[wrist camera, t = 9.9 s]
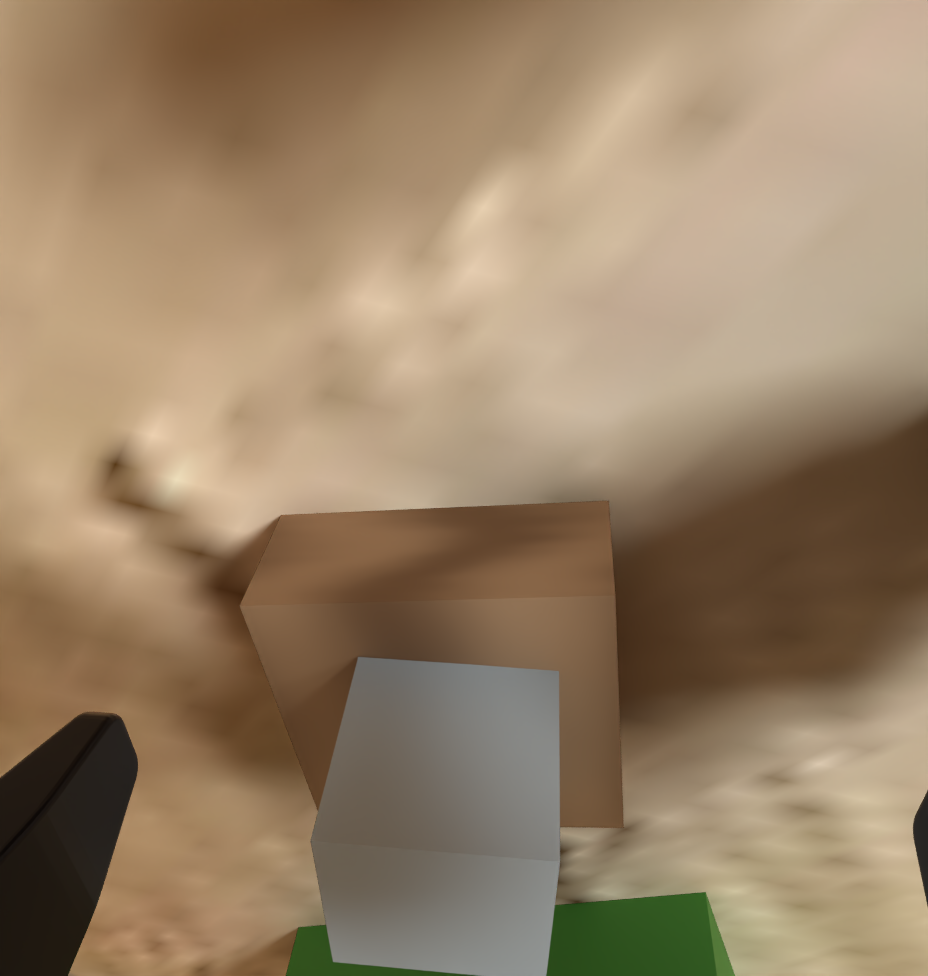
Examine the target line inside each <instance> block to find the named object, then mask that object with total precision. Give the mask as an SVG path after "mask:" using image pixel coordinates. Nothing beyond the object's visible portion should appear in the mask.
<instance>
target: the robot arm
mask: <svg viewBox="0 0 928 976" xmlns="http://www.w3.org/2000/svg"><path fill="white" fill-rule="evenodd" d="M137 771H138V760H137V755H136V753H135V750H134V747H133V745H132V742H131V740H130V737H129V735H128V732H127V730H126V727H125V724H124V722H123V720H122V718H121V717H120V716H118V715H117V714H113V713H101V712H85V713H82V714H80V715H78V716H77V717H75V718H74V719H73V720H71V721H70V722H69V723H68V724H66V725H65V726H64V727H63V728H62V729H60V730H59V731H58V732H57V733H55V734H54V735H53V736H52V737H50V738H49V739H48V740H47V741H45V742H44V743H43V744H42V745H40V746H39V747H38V748H37V749H35V750H34V751H33V752H32V753H30V754H29V755H28V756H27V757H25V758H24V759H23V760H22V761H20V762H19V763H18V764H17V765H16V766H14V767H13V768H12V769H11V770H9V771H8V772H7V773H6V774H4V775H3V776H2V777H1V778H0V976H68V974H69V971H70V969H71V966H72V964H73V962H74V959H75V957H76V955H77V952H78V950H79V947H80V945H81V943H82V940H83V938H84V936H85V933H86V931H87V929H88V926H89V923H90V921H91V918H92V916H93V913H94V911H95V908H96V906H97V903H98V900H99V897H100V894H101V891H102V888H103V885H104V881H105V878H106V875H107V872H108V868H109V865H110V862H111V859H112V855H113V852H114V849H115V846H116V842H117V839H118V836H119V833H120V829H121V826H122V823H123V820H124V816H125V813H126V810H127V807H128V803H129V800H130V797H131V794H132V790H133V787H134V784H135V780H136V777H137ZM913 836H914V842H915V847H916V852H917V857H918V862H919V867H920V872H921V877H922V881H923V886H924V891H925V896H926V901H927V906H928V791H927V793H926V795H925V797H924V799H923V801H922V803H921V805H920V807H919V809H918V811H917V813H916V815H915V818H914V823H913Z"/></svg>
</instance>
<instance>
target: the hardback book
mask: <svg viewBox="0 0 928 976" xmlns="http://www.w3.org/2000/svg"><path fill="white" fill-rule="evenodd" d="M286 976H478V975H467V974H456V973H446V972H435V971H424V970H414V969H403V968H393V967H382V966H371V965H361V964H350V963H339V962H333V959H332V954H331V948H330V943H329V938H328V932H327V927H326V925H320V926H308V927H299V928H298V931H297V935H296V939H295V943H294V946H293V950H292V954H291V958H290V962H289V965H288V969H287V973H286ZM546 976H735V975H734V972H733V969H732V966H731V963H730V960H729V958H728V955H727V952H726V949H725V946H724V943H723V941H722V938H721V935H720V932H719V929H718V926H717V923H716V921H715V918H714V915H713V912H712V909H711V906H710V904H709V901H708V898H707V895H706V892H703V893H692V894H680V895H669V896H657V897H645V898H634V899H622V900H610V901H599V902H587V903H576V904H564V905H555V908H554V916H553V924H552V933H551V941H550V949H549V958H548V966H547V974H546Z"/></svg>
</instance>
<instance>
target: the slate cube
mask: <svg viewBox="0 0 928 976" xmlns="http://www.w3.org/2000/svg"><path fill="white" fill-rule="evenodd" d="M311 846H312V851H313V857H314V862H315V867H316V873H317V878H318V884H319V889H320V894H321V900H322V905H323V911H324V916H325V921H326V927H327V932H328V938H329V943H330V948H331V954H332V959H333V962H339V963H350V964H361V965H371V966H382V967H393V968H403V969H414V970H424V971H435V972H446V973H456V974H467V975H478V976H546V974H547V966H548V958H549V949H550V941H551V933H552V924H553V916H554V908H555V900H556V891H557V883H558V875H559V867H560V756H559V671H551V670H538V669H524V668H511V667H498V666H484V665H471V664H456V663H441V662H426V661H411V660H397V659H382V658H367V657H358V660H357V664H356V668H355V671H354V675H353V679H352V683H351V687H350V691H349V695H348V698H347V702H346V706H345V710H344V714H343V718H342V722H341V725H340V729H339V733H338V737H337V741H336V745H335V749H334V752H333V756H332V760H331V764H330V768H329V772H328V776H327V779H326V783H325V787H324V791H323V795H322V799H321V803H320V806H319V810H318V814H317V818H316V822H315V826H314V830H313V833H312V837H311Z"/></svg>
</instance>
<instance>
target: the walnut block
mask: <svg viewBox="0 0 928 976" xmlns="http://www.w3.org/2000/svg"><path fill="white" fill-rule="evenodd" d="M240 609H241V611H242V614H243V616H244V619H245V622H246V624H247V627H248V629H249V632H250V635H251V637H252V640H253V643H254V645H255V648H256V650H257V653H258V656H259V658H260V661H261V663H262V666H263V669H264V671H265V674H266V676H267V679H268V682H269V684H270V687H271V689H272V692H273V695H274V697H275V700H276V703H277V705H278V708H279V710H280V713H281V716H282V718H283V721H284V723H285V726H286V729H287V731H288V734H289V736H290V739H291V742H292V744H293V747H294V750H295V752H296V755H297V757H298V760H299V763H300V765H301V768H302V770H303V773H304V776H305V778H306V781H307V783H308V786H309V789H310V791H311V794H312V796H313V799H314V802H315V804H316V807H317V810H319V806H320V803H321V799H322V795H323V791H324V787H325V783H326V779H327V776H328V772H329V768H330V764H331V760H332V756H333V752H334V749H335V745H336V741H337V737H338V733H339V729H340V725H341V722H342V718H343V714H344V710H345V706H346V702H347V698H348V695H349V691H350V687H351V683H352V679H353V675H354V671H355V668H356V664H357V660H358V657H367V658H382V659H397V660H411V661H426V662H441V663H456V664H471V665H484V666H498V667H511V668H524V669H538V670H551V671H559V756H560V827H599V828H624V824H623V796H622V768H621V740H620V712H619V684H618V656H617V629H616V601H615V584H614V570H613V556H612V541H611V527H610V513H609V501H592V502H569V503H546V504H523V505H500V506H477V507H454V508H431V509H408V510H386V511H363V512H340V513H317V514H294V515H281V517H280V519H279V521H278V523H277V525H276V528H275V530H274V532H273V534H272V536H271V539H270V541H269V543H268V545H267V547H266V549H265V552H264V554H263V556H262V558H261V560H260V562H259V565H258V567H257V569H256V571H255V573H254V576H253V578H252V580H251V582H250V584H249V586H248V589H247V591H246V593H245V595H244V597H243V600H242V602H241V604H240Z"/></svg>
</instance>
